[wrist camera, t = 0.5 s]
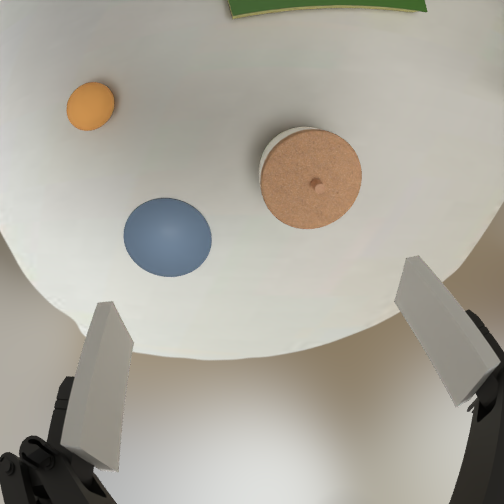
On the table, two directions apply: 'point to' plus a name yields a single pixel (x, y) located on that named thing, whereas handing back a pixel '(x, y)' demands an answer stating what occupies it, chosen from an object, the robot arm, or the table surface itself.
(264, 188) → the lidded jar
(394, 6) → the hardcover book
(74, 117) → the ball
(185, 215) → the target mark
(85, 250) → the table surface
